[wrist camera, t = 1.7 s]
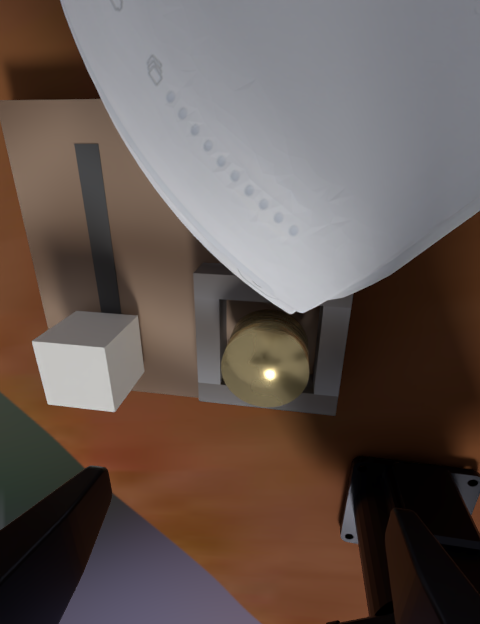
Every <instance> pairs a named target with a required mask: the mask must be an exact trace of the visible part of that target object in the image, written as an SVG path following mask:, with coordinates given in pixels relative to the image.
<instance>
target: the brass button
mask: <svg viewBox="0 0 480 624" xmlns="http://www.w3.org/2000/svg"><path fill="white" fill-rule="evenodd" d="M221 373H222V377H223V379H224V382H225V384H226V385H227V387H228V388H229V390H230V391H231V392H232V393H233V394H234V395H235V396H237V397H238V398H239V399H241V400H242V401H244V402H246V403H249V404H251V405H255V406H259V407H277V406H282V405H285V404H287V403H289V402H291V401H293V400H294V399H296V398H297V397H298V396H299V395H300V394H301V393H302V392H303V390H304V389H305V387H306V385H307V383H308V379H309V351H308V339H307V335H306V333H305V330H304V329H303V327H302V326H301V324H300V323H299V322H298V321H297V320H296V319H295V318H293V317H292V316H290V315H288V314H287V313H284V312H282V311H278V310H273V309H262V310H257V311H254V312H251V313H249V314H247V315H245V316H244V317H243V318H241V319H240V320H239V321H238V323H237V324H236V325H235V327H234V329H233V331H232V334H231V336H230V339H229V342H228V344H227V347H226V349H225V352H224V354H223V357H222V361H221Z"/></svg>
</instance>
